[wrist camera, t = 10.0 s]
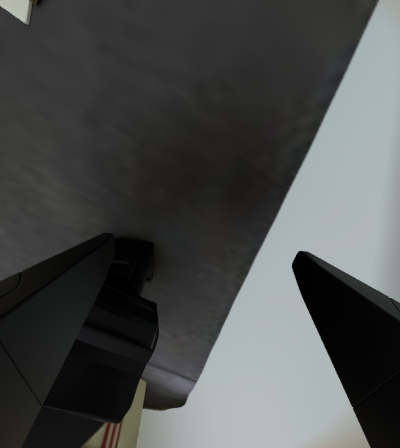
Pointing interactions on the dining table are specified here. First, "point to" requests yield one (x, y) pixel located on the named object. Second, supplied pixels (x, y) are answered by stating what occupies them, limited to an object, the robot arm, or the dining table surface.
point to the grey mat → (18, 8)
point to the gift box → (122, 426)
